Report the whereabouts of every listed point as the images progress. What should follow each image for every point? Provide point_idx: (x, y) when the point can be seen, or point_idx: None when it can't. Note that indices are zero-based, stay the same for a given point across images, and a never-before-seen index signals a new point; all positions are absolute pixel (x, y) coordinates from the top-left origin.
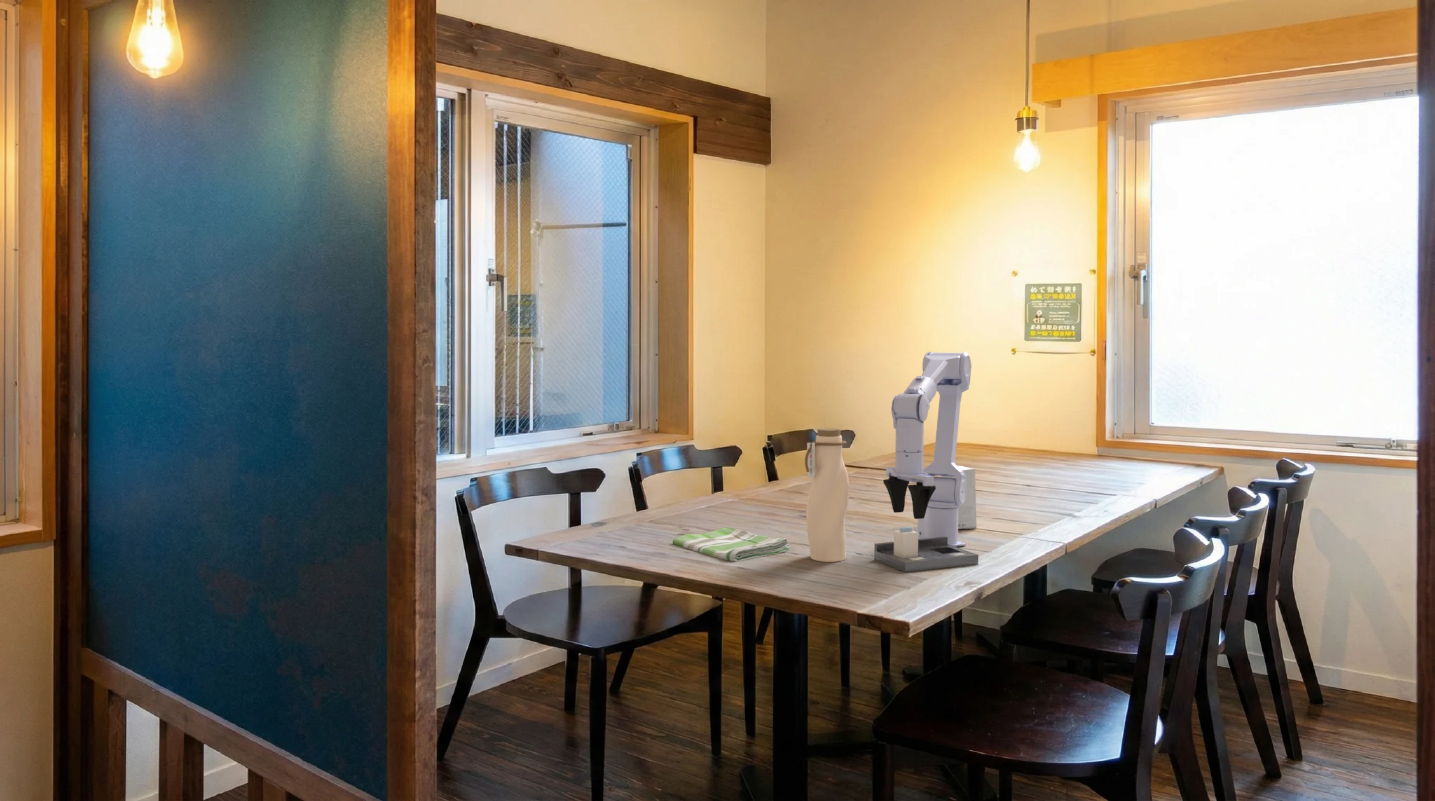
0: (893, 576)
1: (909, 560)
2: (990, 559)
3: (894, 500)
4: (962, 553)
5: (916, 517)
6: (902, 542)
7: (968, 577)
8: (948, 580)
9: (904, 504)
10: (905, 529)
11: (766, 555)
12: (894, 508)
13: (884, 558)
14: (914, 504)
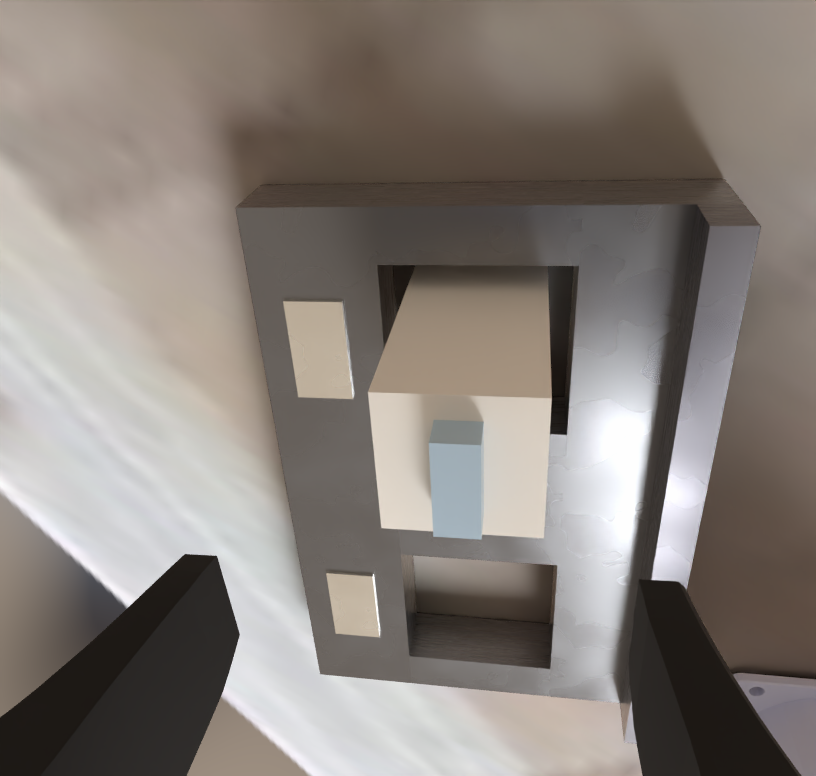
0: (165, 29)
1: (293, 276)
2: (403, 715)
3: (677, 728)
4: (361, 632)
5: (168, 569)
6: (397, 346)
7: (82, 449)
8: (25, 323)
9: (643, 765)
10: (433, 466)
11: None
12: (650, 617)
13: (555, 193)
14: (57, 686)
